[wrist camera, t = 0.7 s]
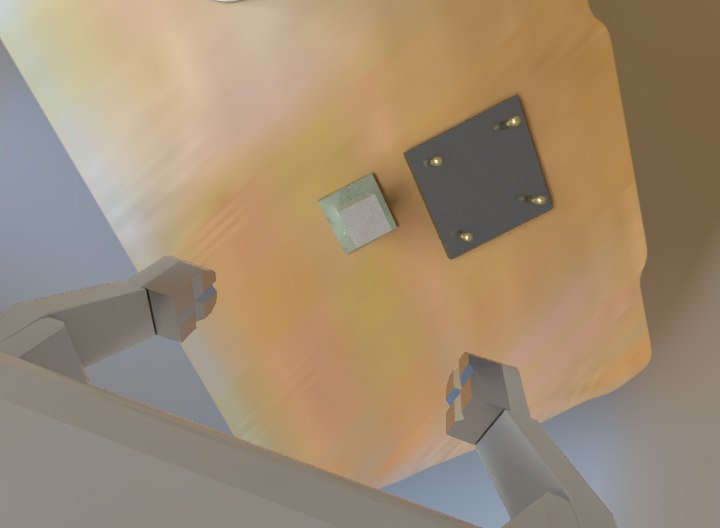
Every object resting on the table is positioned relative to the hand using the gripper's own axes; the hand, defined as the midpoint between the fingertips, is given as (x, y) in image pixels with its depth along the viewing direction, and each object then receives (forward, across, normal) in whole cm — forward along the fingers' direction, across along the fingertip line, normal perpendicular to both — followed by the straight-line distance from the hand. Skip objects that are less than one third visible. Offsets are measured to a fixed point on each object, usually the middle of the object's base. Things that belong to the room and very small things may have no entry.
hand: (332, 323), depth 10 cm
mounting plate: (+44, -11, +5) cm, 46 cm away
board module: (+37, +5, +13) cm, 40 cm away
